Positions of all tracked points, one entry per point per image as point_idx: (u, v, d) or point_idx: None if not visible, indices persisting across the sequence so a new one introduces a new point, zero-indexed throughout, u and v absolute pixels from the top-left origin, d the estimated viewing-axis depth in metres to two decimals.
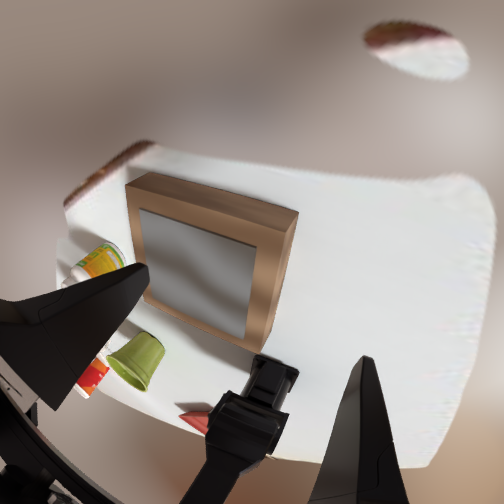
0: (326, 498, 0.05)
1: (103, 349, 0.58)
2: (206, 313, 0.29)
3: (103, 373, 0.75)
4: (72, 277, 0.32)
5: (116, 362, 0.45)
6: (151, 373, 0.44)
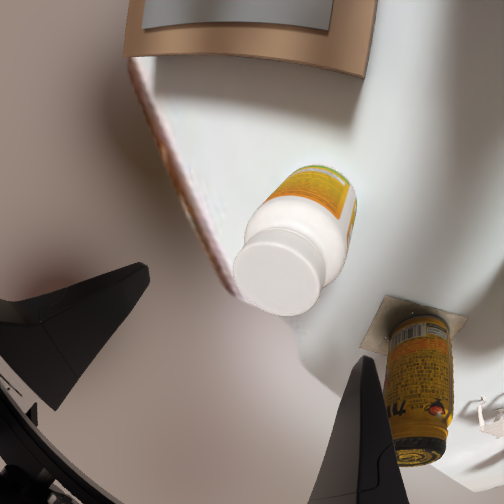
0: (325, 498, 0.05)
1: None
2: None
3: None
4: None
5: None
6: None
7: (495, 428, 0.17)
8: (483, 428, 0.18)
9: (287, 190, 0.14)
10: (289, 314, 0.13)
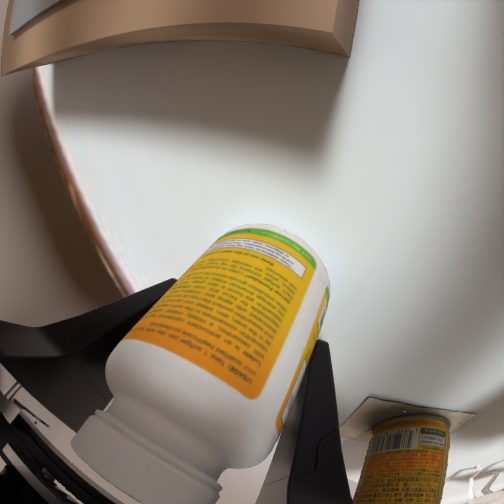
0: (271, 483, 0.06)
1: None
2: None
3: None
4: None
5: None
6: None
7: (485, 501, 0.10)
8: (472, 502, 0.11)
9: (161, 317, 0.07)
10: None
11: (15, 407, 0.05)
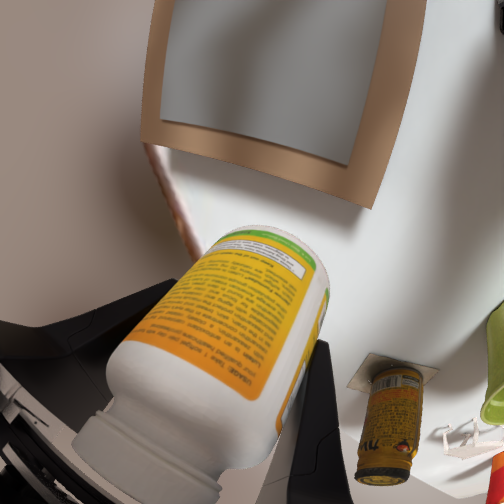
0: (271, 483, 0.06)
1: (476, 435, 0.21)
2: (345, 21, 0.09)
3: None
4: None
5: None
6: None
7: (458, 452, 0.22)
8: (447, 452, 0.23)
9: (162, 319, 0.07)
10: None
11: (15, 407, 0.05)
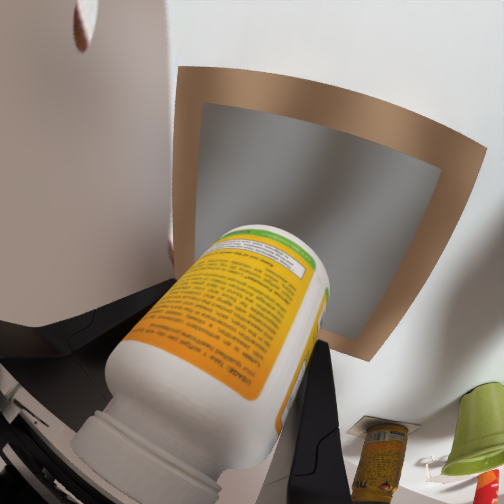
0: (271, 483, 0.06)
1: None
2: (376, 237, 0.13)
3: (495, 480, 0.24)
4: None
5: (466, 464, 0.16)
6: None
7: (437, 480, 0.25)
8: (428, 479, 0.26)
9: (161, 319, 0.07)
10: None
11: (15, 407, 0.05)
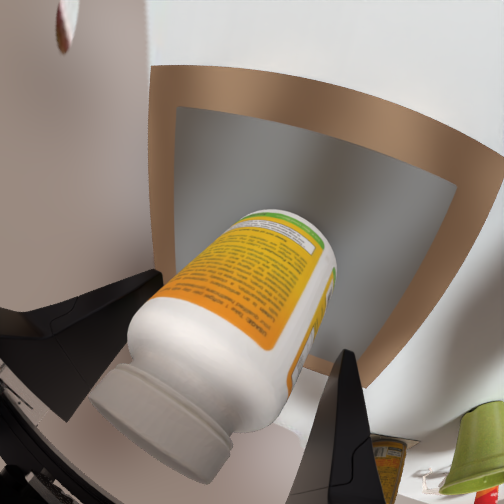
0: (302, 493, 0.06)
1: None
2: (378, 263, 0.11)
3: (494, 489, 0.22)
4: None
5: (465, 482, 0.14)
6: None
7: (434, 492, 0.23)
8: (425, 492, 0.24)
9: (186, 279, 0.08)
10: None
11: (0, 386, 0.05)
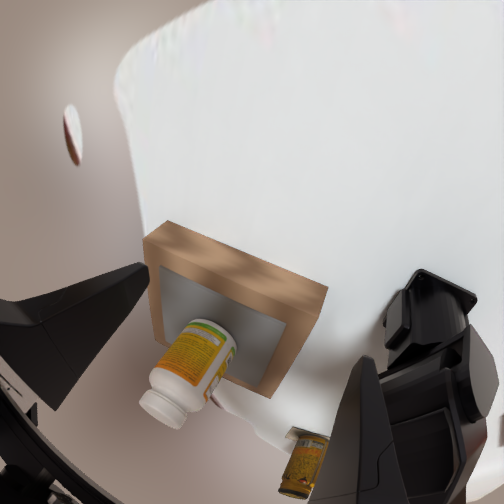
0: (325, 498, 0.05)
1: None
2: (254, 346, 0.25)
3: None
4: None
5: None
6: None
7: None
8: None
9: (169, 361, 0.21)
10: None
11: None
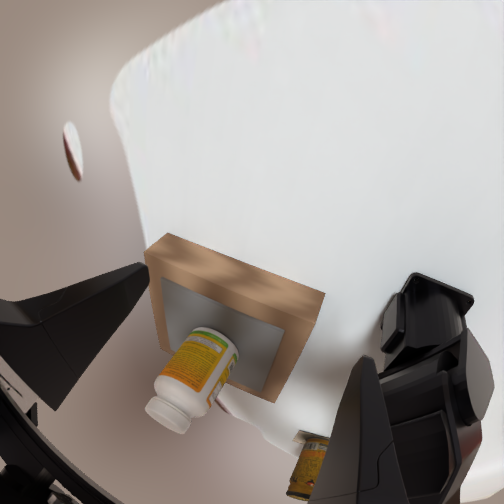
0: (326, 498, 0.05)
1: None
2: (255, 352, 0.25)
3: None
4: None
5: None
6: None
7: None
8: None
9: (173, 369, 0.22)
10: (176, 432, 0.20)
11: None
